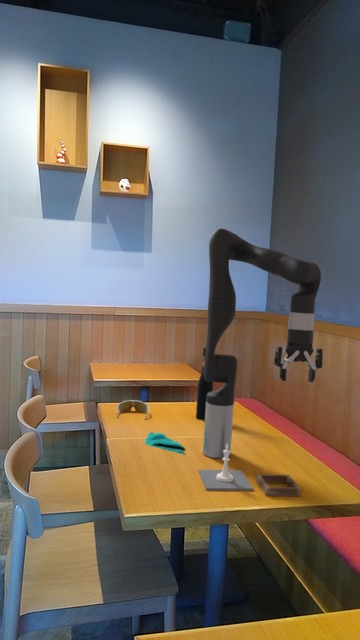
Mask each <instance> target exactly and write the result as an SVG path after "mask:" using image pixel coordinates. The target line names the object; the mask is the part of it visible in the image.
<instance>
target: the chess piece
mask: <svg viewBox="0 0 360 640" xmlns="http://www.w3.org/2000/svg"><path fill="white" fill-rule="evenodd" d="M223 453H224V458H221V459H222V461H224V462H223V467H222V470H223V471H222V472H221V473H219V474H217V477H216V478H217V480H219V481H222V482H231V481H233V480H234V479H233V476H232V475H231V474H229V472H228V470H229V463H228V462H230V458H229V457H230V456H229V454H230V455H231V453H230V451H229V450H228V444H226V450H223ZM228 456H229V457H228Z"/></svg>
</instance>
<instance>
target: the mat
mask: <svg viewBox="0 0 360 640" xmlns="http://www.w3.org/2000/svg"><path fill="white" fill-rule="evenodd" d="M222 471H223V469H198V474H199V476H200V478H201V481H202V483H203V486H204V488H205V491H250V492H251V491H254V487H253V486H252V485H251V483H250V481H249V480H248V479H247V477H246V475H245V474H244V472H243V471H242V470H241V469H228V472H229V474H231V475H232V476H233V479H234V480H233V481H231V482H222V481H219V480H217V478H216V477H217V474H219V473H221V472H222Z"/></svg>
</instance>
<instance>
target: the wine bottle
mask: <svg viewBox="0 0 360 640" xmlns="http://www.w3.org/2000/svg"><path fill="white" fill-rule="evenodd" d="M202 351H203V352H202V356H203V357H204V359H203V362H202V363H203V364H202V366H201V367H202V368H201V374H200V377H199V379H198V383H197V393H196V395H197V396H196V411H195V418H196V419H197V420H198V421H199V420H201V421H205V411H206V396H207V394H208V393H209V392H211V391H214V382H208V381H206V380H205V378H204V360H205V351H206V347H203V349H202Z"/></svg>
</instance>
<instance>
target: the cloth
mask: <svg viewBox="0 0 360 640" xmlns="http://www.w3.org/2000/svg"><path fill="white" fill-rule="evenodd" d="M144 444H145V445H147V446H148V445H149V446H151V447H153V448H158V449H161V450H164V451H169V452H174V453H178V454H180V455H186V453H185V452H184V450H186V448H185V446H183V445H182V444H181V443H179V442H178V441H175V440H173V439H171V438H168V437H167V435H165V433H161V432H156V433H154V432H152V431H150V432H149V433H148V434H147V436H146V438H145V441H144ZM182 449H183V450H182Z"/></svg>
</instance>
